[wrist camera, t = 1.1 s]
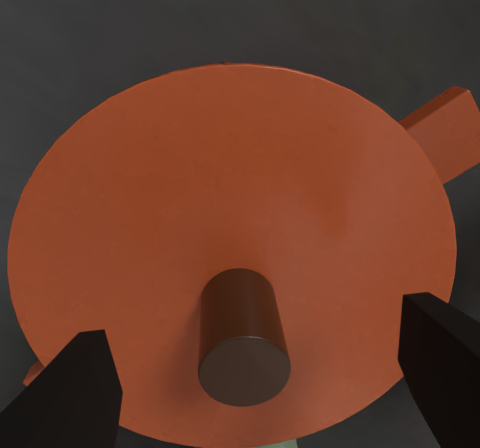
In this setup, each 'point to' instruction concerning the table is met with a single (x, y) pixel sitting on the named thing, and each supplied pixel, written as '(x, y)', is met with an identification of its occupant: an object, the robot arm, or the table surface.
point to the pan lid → (232, 250)
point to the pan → (427, 143)
